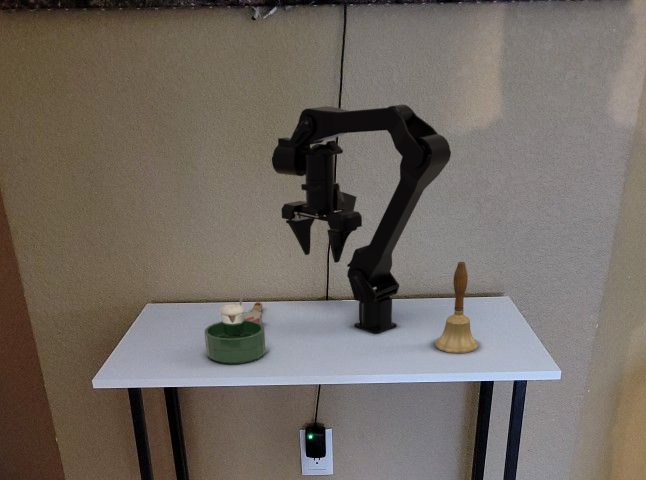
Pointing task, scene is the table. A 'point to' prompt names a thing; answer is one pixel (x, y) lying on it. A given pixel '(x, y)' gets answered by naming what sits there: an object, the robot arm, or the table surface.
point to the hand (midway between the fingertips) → (321, 258)
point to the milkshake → (233, 320)
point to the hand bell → (458, 320)
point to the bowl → (235, 343)
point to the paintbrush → (255, 313)
